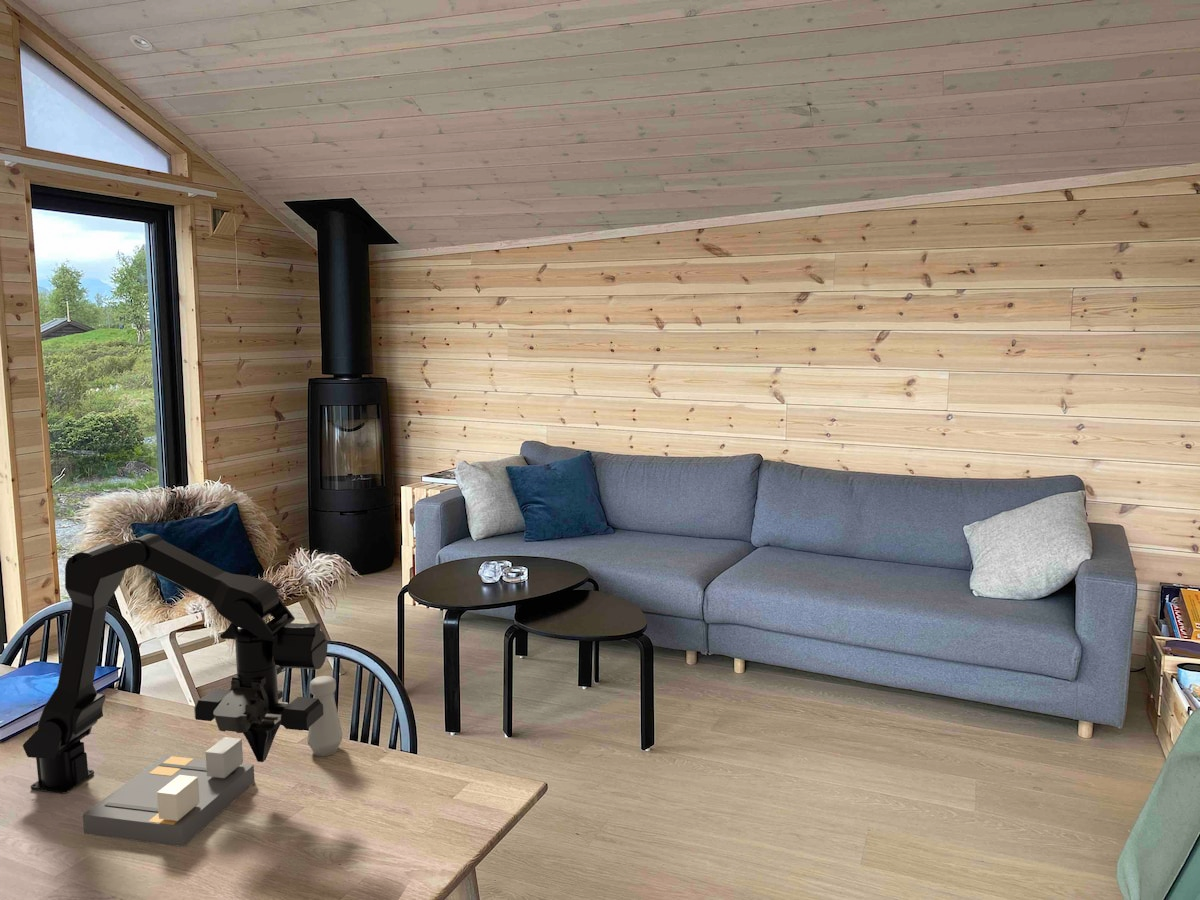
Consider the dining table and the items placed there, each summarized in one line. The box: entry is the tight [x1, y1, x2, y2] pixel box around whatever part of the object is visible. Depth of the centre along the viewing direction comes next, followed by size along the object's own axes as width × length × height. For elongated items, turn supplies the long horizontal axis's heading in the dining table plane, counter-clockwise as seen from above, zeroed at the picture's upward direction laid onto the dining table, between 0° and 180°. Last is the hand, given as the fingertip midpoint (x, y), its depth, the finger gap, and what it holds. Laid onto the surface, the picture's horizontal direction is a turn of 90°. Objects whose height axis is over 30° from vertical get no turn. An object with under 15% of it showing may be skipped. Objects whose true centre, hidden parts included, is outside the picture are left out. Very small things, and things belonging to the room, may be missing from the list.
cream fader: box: [157, 775, 200, 821], centre depth 132 cm, size 3×5×4 cm, turn 169°
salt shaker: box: [307, 675, 343, 757], centre depth 156 cm, size 6×6×13 cm
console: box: [82, 754, 256, 847], centre depth 139 cm, size 16×18×3 cm
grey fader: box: [205, 736, 244, 778], centre depth 144 cm, size 3×5×4 cm, turn 169°
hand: (261, 760), depth 142 cm, fingers closed
